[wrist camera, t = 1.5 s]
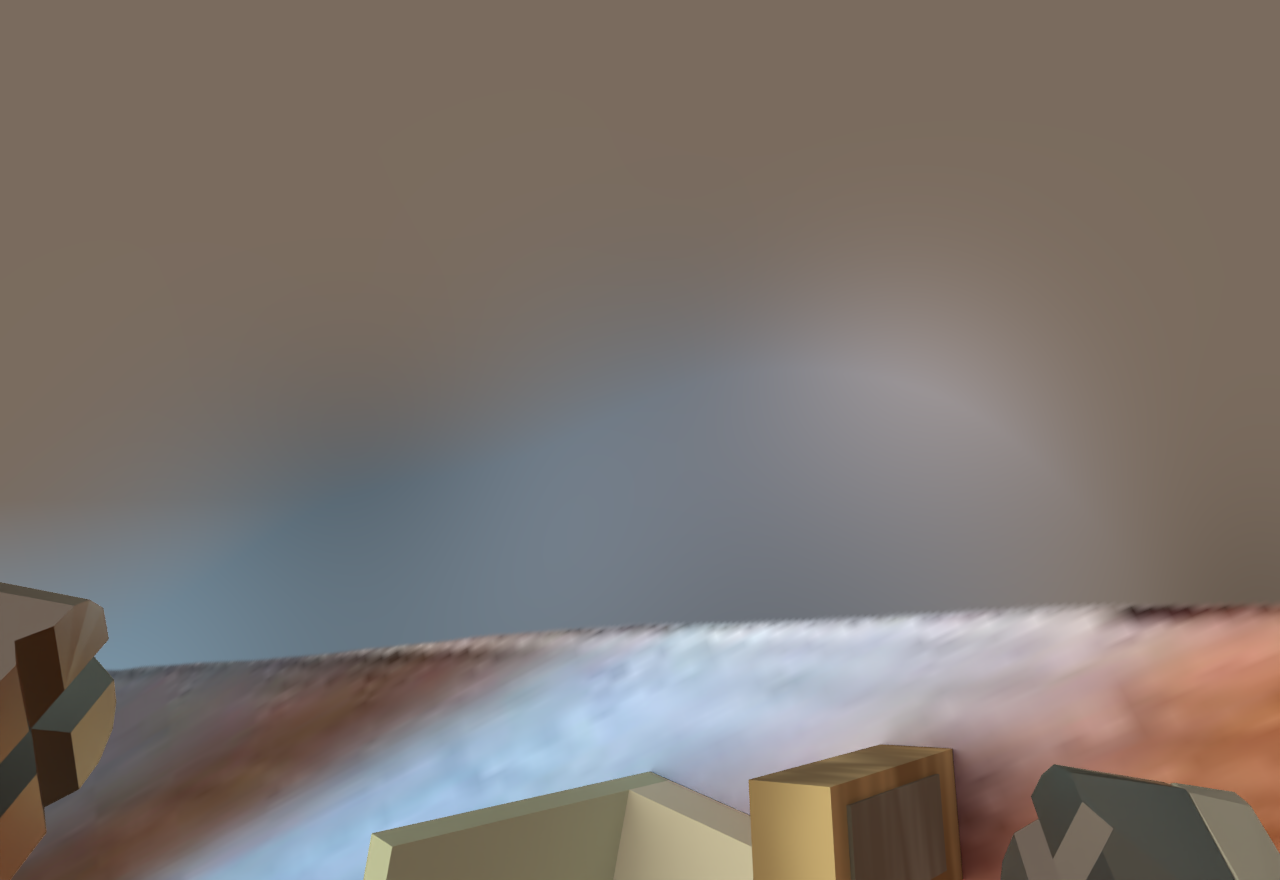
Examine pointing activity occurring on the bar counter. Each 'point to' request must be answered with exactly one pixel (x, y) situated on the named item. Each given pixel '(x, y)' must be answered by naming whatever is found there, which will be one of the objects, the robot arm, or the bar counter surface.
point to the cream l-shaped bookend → (576, 838)
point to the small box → (859, 818)
